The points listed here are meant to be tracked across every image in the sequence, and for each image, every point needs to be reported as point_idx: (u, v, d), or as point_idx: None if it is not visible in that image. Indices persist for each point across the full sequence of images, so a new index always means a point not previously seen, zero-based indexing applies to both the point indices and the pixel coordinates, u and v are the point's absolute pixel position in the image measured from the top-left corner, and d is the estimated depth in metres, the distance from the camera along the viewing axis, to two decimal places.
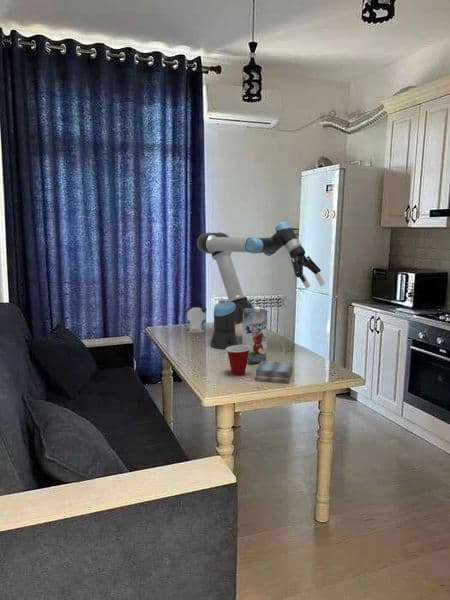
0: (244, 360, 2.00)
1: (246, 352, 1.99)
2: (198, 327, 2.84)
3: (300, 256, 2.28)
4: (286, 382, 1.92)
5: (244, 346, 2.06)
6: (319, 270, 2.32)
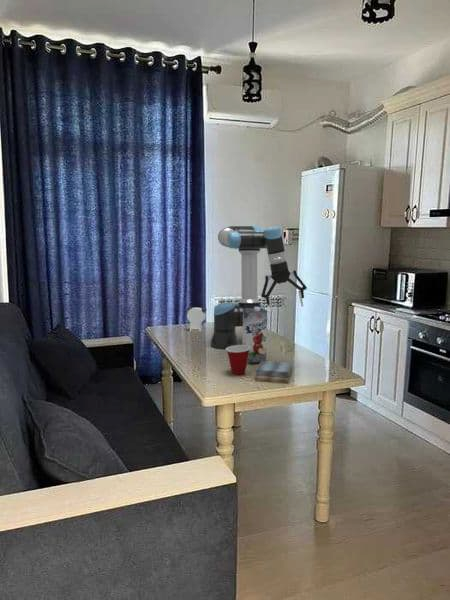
0: (244, 360, 2.00)
1: (246, 352, 1.99)
2: (198, 327, 2.84)
3: (278, 273, 2.02)
4: (286, 382, 1.92)
5: (244, 346, 2.06)
6: (302, 289, 2.03)
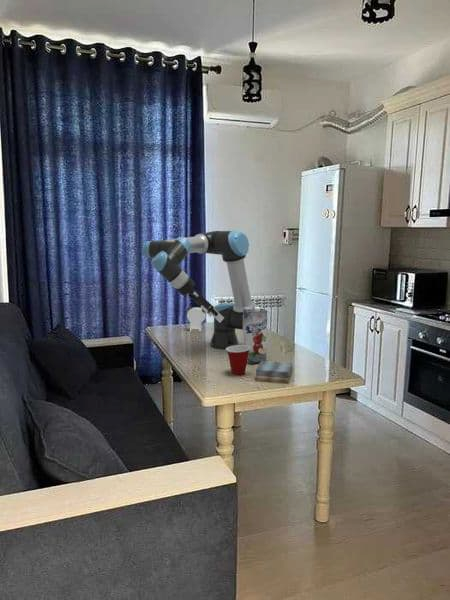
0: (244, 360, 2.00)
1: (246, 352, 1.99)
2: (198, 327, 2.84)
3: (188, 292, 1.93)
4: (286, 382, 1.92)
5: (244, 346, 2.06)
6: (208, 311, 1.87)
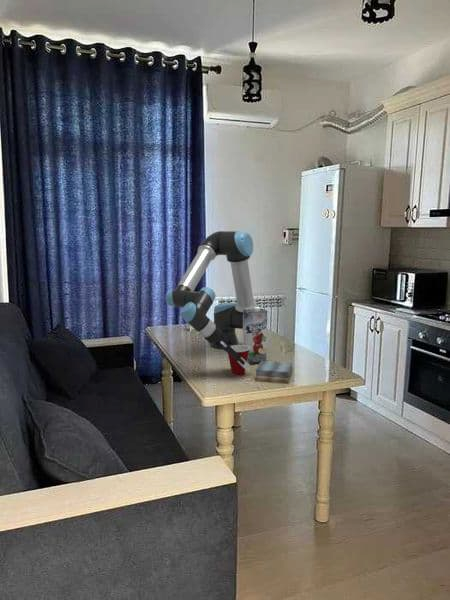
0: None
1: (246, 352, 1.99)
2: None
3: None
4: (286, 382, 1.92)
5: (244, 346, 2.06)
6: None
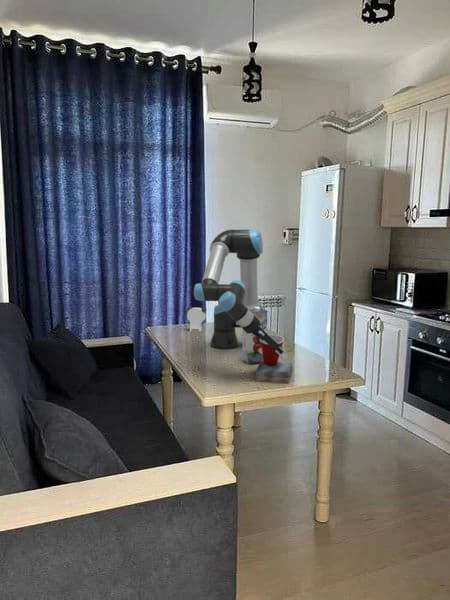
0: None
1: (280, 344, 1.98)
2: (198, 327, 2.84)
3: None
4: (286, 382, 1.92)
5: (277, 336, 2.05)
6: None
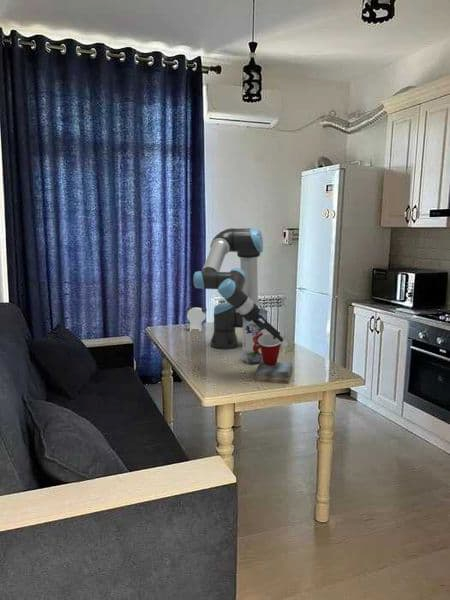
0: (276, 352, 1.99)
1: (279, 345, 1.98)
2: (198, 327, 2.84)
3: None
4: (286, 382, 1.92)
5: None
6: None
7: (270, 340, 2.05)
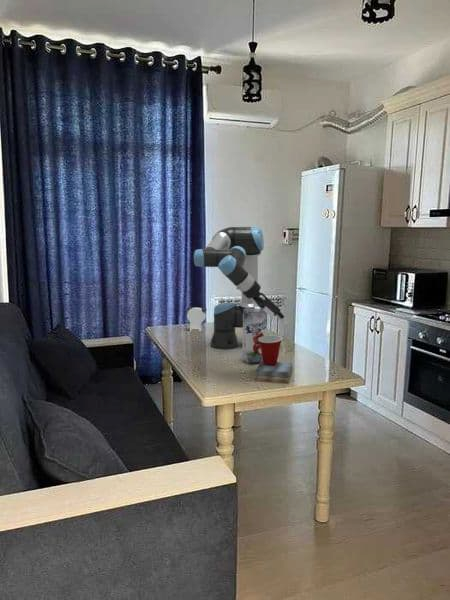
0: (276, 350, 2.01)
1: (279, 342, 2.00)
2: (198, 327, 2.84)
3: None
4: (286, 382, 1.92)
5: (275, 336, 2.07)
6: (274, 314, 1.90)
7: (270, 342, 2.08)
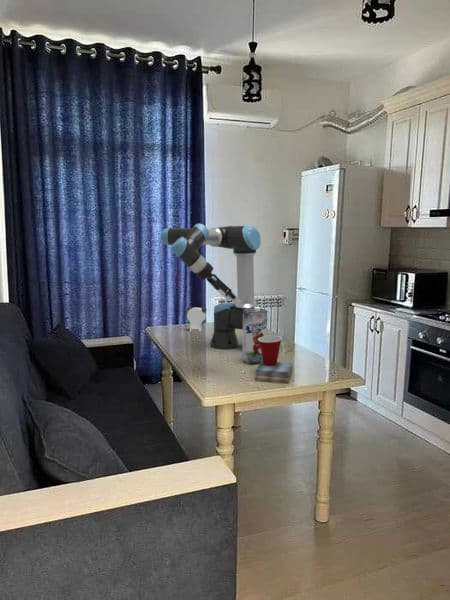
0: (276, 350, 2.01)
1: (279, 342, 2.01)
2: (198, 327, 2.84)
3: (206, 276, 2.01)
4: (286, 382, 1.92)
5: (275, 337, 2.07)
6: (225, 294, 1.95)
7: None
